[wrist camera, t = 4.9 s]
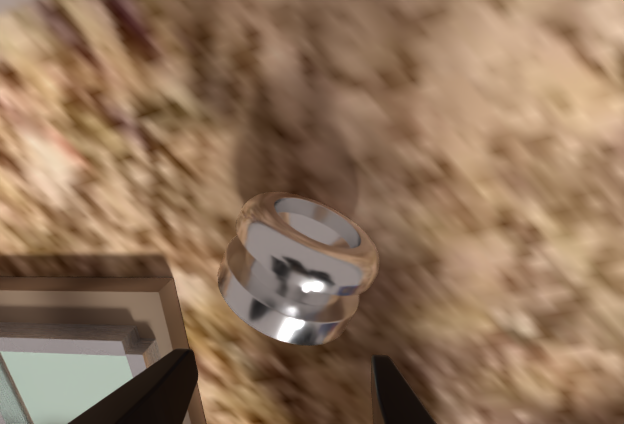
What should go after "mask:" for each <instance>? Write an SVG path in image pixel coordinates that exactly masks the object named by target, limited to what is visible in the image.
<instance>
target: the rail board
mask: <svg viewBox="0 0 624 424" xmlns="http://www.w3.org/2000/svg"><path fill="white" fill-rule="evenodd" d="M0 322H12V323H52V324H91V325H130V326H137V329H138V333H139V336H140V338H154V339H156V341H157V344H158V348H159V352H160V356H161V358H162V357H164V356H165V355H167V354H168V353H170V352H171V351H172V350H174V349H176V348H189V346H188V342H187V337H186V333H185V328H184V324H183V319H182V315H181V311H180V306H179V302H178V297H177V293H176V288H175V284H174V280H173V278H107V277H0ZM0 354H1V356H2V358H3V360H4V362H5V365H6V367H7V369H8V371H9V373H10V375H11V377H12V379H13V382H14V384H15V386H16V388H17V390H18V392H19V394H20V396H21V399H22V401H23V403H24V405H25V407H26V409H27V411H28V413H29V416H30V418H31V420H32V422H33V424H67V423H69V422H70V421H72V420H73V419H75V418H76V417H77V416H79V415H80V414H82V413H83V412H85V411H86V410H88V409H89V408H90V407H92V406H93V405H95V404H96V403H98V402H99V401H100V400H102V399H103V398H105V397H106V396H108V395H109V394H111V393H112V392H113V391H115V390H116V389H118V388H119V387H121V386H122V385H124V384H125V383H126V382H128V381H129V380H131V379H132V378H133V377H132V373H131V370H130V367H129V364H128V361H127V357H126V356H111V355H84V354H58V353H32V352H5V351H0ZM183 424H206V421H205V417H204V412H203V408H202V404H201V399H200V395H199V390H198V386H197V384H196V387H195V390H194V393H193V396H192V398H191V401H190V404H189V407H188V410H187V413H186V416H185V418H184V421H183Z"/></svg>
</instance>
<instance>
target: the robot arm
mask: <svg viewBox="0 0 624 424" xmlns="http://www.w3.org/2000/svg"><path fill="white" fill-rule="evenodd" d="M197 380H198V370H197V365H196V361H195V356H194V352H193V350H192V349H190V348H176V349H174V350H172V351H171V352H170V353H168V354H167V355H165V356H164V357H162V358H161V359H160V360H158V361H157V362H155V363H154V364H152V365H151V366H149V367H148V368H147V369H145V370H144V371H142V372H141V373H139V374H138V375H136V376H135V377H134V378H132V379H131V380H129V381H128V382H126V383H125V384H124V385H122V386H121V387H119V388H118V389H116V390H115V391H113V392H112V393H111V394H109V395H108V396H106V397H105V398H103V399H102V400H100V401H99V402H98V403H96V404H95V405H93V406H92V407H90V408H89V409H88V410H86V411H85V412H83V413H82V414H80V415H79V416H77V417H76V418H75V419H73V420H72V421H70V422H69V423H67V424H183V421H184V418H185V416H186V413H187V410H188V407H189V404H190V401H191V398H192V396H193V393H194V390H195V387H196V384H197ZM371 393H372V409H373V424H436V422H435V421H434V419H433V418H432V417H431V415H430V414H429V412H428V411H427V409H426V408H425V407H424V405H423V404H422V402H421V401H420V400H419V398H418V397H417V395H416V394H415V392H414V391H413V390H412V388H411V387H410V385H409V384H408V382H407V381H406V380H405V378H404V377H403V375H402V374H401V372H400V371H399V370H398V368H397V367H396V365H395V364H394V363H393V361H392V360H391V358H390V357H389V356H387V355H373V356H372V357H371Z"/></svg>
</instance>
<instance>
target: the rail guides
mask: <svg viewBox="0 0 624 424" xmlns="http://www.w3.org/2000/svg"><path fill="white" fill-rule="evenodd" d="M0 351H5V352H32V353H58V354H84V355H111V356H126V357H127V361H128V364H129V367H130V370H131V373H132V377H133V378H134V377H135V376H136V375H138V374H139V373H141V372H142V371H144V370H145V369H147V368H148V367H149V366H151V365H152V364H154V363H155V362H157V361H158V360H160V359H161V356H160V352H159V348H158V344H157V341H156V339H154V338H140V336H139V333H138V329H137V326H130V325H91V324H52V323H12V322H0ZM0 424H33V422H32V420H31V418H30V416H29V413H28V411H27V409H26V407H25V405H24V403H23V401H22V399H21V396H20V394H19V392H18V390H17V388H16V386H15V384H14V382H13V379H12V377H11V375H10V373H9V371H8V369H7V367H6V365H5V362H4V360H3V358H2V356H1V354H0Z"/></svg>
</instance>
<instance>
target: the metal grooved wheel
mask: <svg viewBox="0 0 624 424" xmlns="http://www.w3.org/2000/svg"><path fill="white" fill-rule="evenodd" d="M236 231H237V236H236V237H234V238H233V239H232V240H231V241H230V242H229V244H228V246H227V248H226V251H225V254H224V256H223V259H222V262H221V264H220V267H219V270H218V286H219V289H220V292H221V294H222V296H223V298H224V300H225V301H226V303H227V304H228V306H229V307H230V308H231V309H232V310H233V312H234V313H235V314H236V315H237V316H238V317H240V318H241V319H242V320H243V321H244V322H246V323H247V324H248V325H250V326H251V327H253V328H254V329H256V330H258V331H259V332H261V333H263V334H265V335H267V336H269V337H272V338H274V339H277V340H280V341H283V342H287V343H291V344H297V345H320V344H324V343H328V342H330V341H332V340H334V339H336V338H337V337H339V336H340V335H341V334H342V333H343V331H344V330H345V328H346V327H347V325H348V323H349V322H350V320H351V318H352V317H353V315H354V313H355V311H356V310H357V308H358V305H359V294H360V293H363V292H365V291H366V290H367V289H369V287H370V286H371V285H372V283H373V281H374V280H375V278H376V276H377V274H378V270H379V264H380V261H379V254H378V251H377V249H376V246H375V245H374V243H373V241H372V240H371V238H370V237H369V236H368V235H367V234H366V232H365V231H364V230H363V229H361V228H360V227H359V226H358V225H357V224H356V223H354V222H353V221H352V220H350V219H349V218H348V217H346V216H345V215H343V214H341V213H340V212H338V211H336V210H334V209H333V208H331V207H329V206H327V205H325V204H322V203H320V202H318V201H315V200H313V199H310V198H307V197H304V196H300V195H296V194H292V193H286V192H266V193H262V194H259V195H256V196H254V197H252V198H251V199H250V200H248V201H247V202H246V203H245V204H244V206H243V207H242V209H241V211H240V213H239V216H238V219H237V222H236Z"/></svg>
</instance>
